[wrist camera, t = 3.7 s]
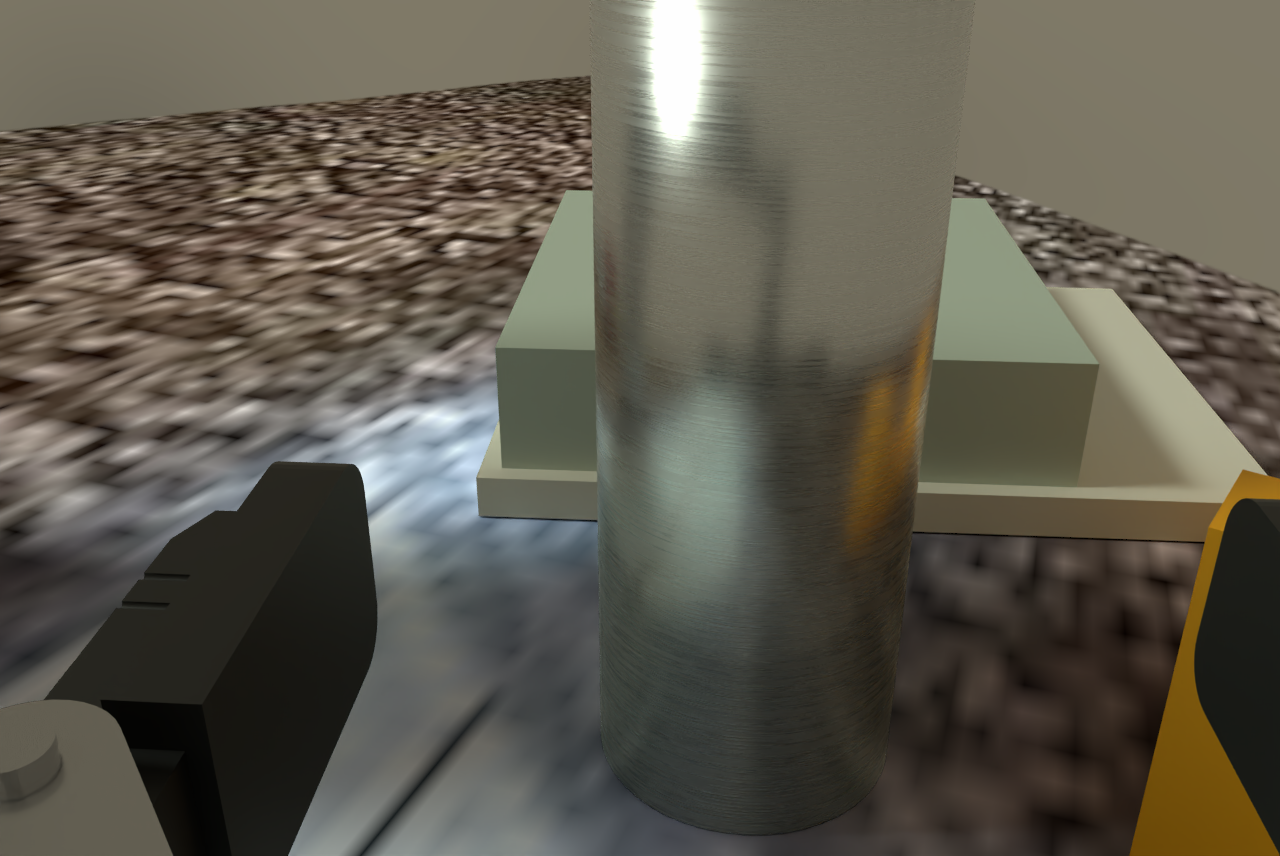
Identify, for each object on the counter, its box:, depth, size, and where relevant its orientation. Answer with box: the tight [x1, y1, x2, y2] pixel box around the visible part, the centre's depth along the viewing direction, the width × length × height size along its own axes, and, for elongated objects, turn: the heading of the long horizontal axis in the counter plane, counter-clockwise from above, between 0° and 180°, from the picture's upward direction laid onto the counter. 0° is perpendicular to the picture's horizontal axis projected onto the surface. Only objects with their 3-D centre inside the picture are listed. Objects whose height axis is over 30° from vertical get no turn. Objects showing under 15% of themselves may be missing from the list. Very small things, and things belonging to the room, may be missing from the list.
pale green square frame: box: [476, 190, 1268, 542], centre depth 33 cm, size 18×14×4 cm
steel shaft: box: [590, 0, 975, 835], centre depth 19 cm, size 5×5×13 cm
